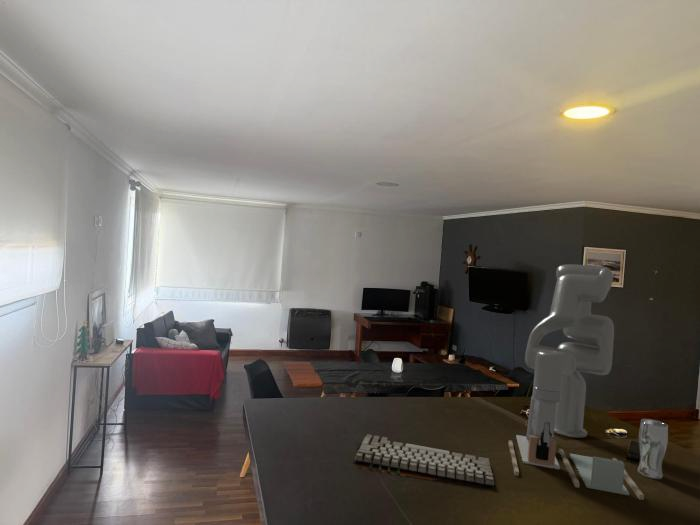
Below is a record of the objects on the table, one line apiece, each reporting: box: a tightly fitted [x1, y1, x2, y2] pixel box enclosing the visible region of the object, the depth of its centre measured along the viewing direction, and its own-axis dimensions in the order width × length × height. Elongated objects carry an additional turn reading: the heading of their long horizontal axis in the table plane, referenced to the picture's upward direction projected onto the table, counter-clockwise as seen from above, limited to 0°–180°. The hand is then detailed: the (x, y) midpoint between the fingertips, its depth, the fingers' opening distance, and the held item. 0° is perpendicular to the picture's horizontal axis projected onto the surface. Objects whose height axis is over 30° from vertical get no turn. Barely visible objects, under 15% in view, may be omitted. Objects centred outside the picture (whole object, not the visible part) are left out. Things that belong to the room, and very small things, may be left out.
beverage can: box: [526, 396, 537, 442], centre depth 150 cm, size 5×5×15 cm
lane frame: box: [508, 439, 645, 501], centre depth 133 cm, size 24×31×1 cm
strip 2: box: [569, 453, 630, 496], centre depth 131 cm, size 22×10×8 cm, turn 165°
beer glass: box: [637, 418, 669, 480], centre depth 134 cm, size 7×7×15 cm
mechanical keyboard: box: [352, 433, 496, 490], centre depth 129 cm, size 38×19×3 cm, turn 79°
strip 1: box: [515, 434, 561, 470], centre depth 144 cm, size 22×10×8 cm, turn 165°
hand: (541, 456), depth 135 cm, fingers closed on strip 1, 2 cm apart
